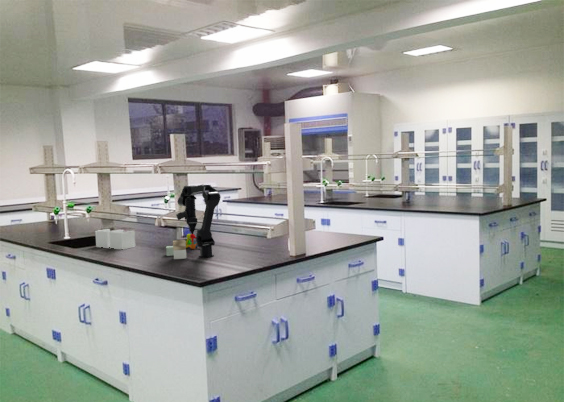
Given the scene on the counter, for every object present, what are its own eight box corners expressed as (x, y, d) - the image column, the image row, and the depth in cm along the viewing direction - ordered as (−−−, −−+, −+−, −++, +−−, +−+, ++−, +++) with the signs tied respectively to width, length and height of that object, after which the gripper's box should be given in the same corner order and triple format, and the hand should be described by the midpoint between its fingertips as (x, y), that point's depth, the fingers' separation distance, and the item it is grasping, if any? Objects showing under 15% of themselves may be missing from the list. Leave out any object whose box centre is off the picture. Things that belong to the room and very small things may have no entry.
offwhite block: (186, 257, 284) (185, 248, 284) (186, 258, 280) (186, 249, 280) (173, 257, 282) (173, 249, 282) (173, 259, 279) (173, 250, 278)
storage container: (96, 247, 328) (95, 230, 327) (109, 244, 337) (108, 228, 336) (122, 249, 315) (121, 232, 314) (135, 246, 324) (134, 230, 323)
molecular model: (197, 252, 320) (206, 240, 310) (185, 257, 313) (194, 245, 303) (188, 238, 322) (196, 226, 312) (176, 243, 315) (184, 231, 305)
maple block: (185, 248, 284) (185, 239, 283) (185, 249, 280) (185, 240, 279) (173, 249, 282) (172, 240, 282) (173, 250, 278) (172, 241, 278)
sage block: (178, 253, 295) (178, 245, 294) (178, 255, 291) (178, 246, 290) (166, 254, 293) (166, 246, 293) (166, 256, 289) (166, 247, 289)
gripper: (175, 206, 300) (176, 231, 301) (177, 209, 282) (178, 236, 283) (194, 205, 303) (195, 230, 304) (196, 208, 285) (198, 234, 286)
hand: (191, 232), depth 294 cm, fingers open, 9 cm apart
